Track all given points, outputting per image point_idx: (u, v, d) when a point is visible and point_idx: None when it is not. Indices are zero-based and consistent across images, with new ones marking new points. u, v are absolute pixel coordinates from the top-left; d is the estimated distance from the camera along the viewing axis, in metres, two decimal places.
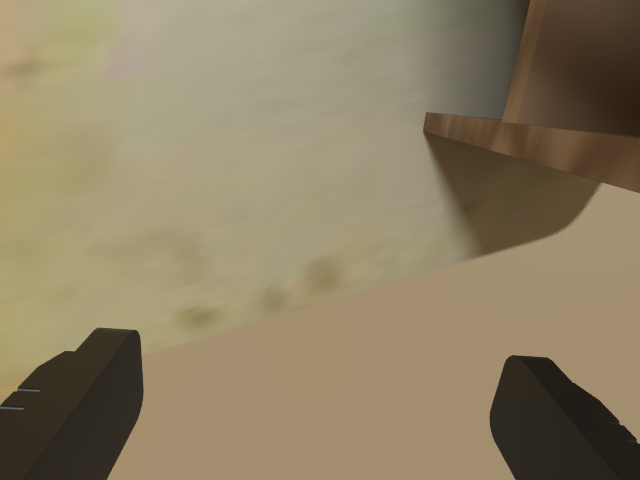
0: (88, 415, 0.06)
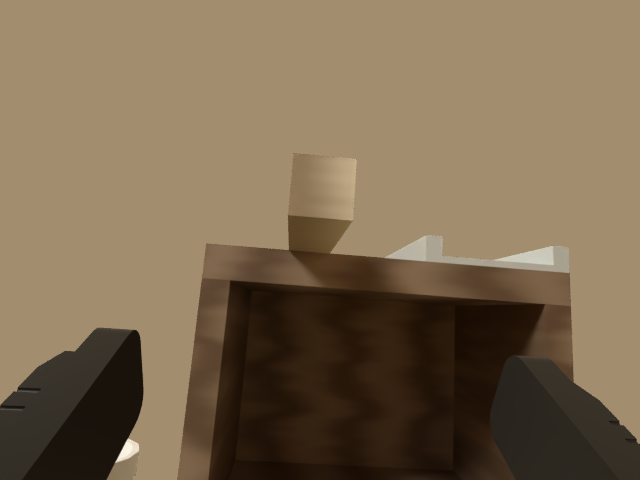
0: (88, 416, 0.06)
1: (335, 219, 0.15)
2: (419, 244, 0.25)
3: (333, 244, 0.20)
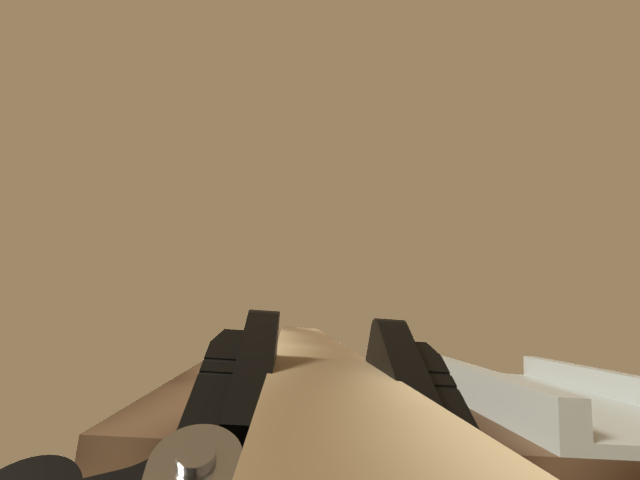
0: None
1: None
2: (531, 401, 0.13)
3: None
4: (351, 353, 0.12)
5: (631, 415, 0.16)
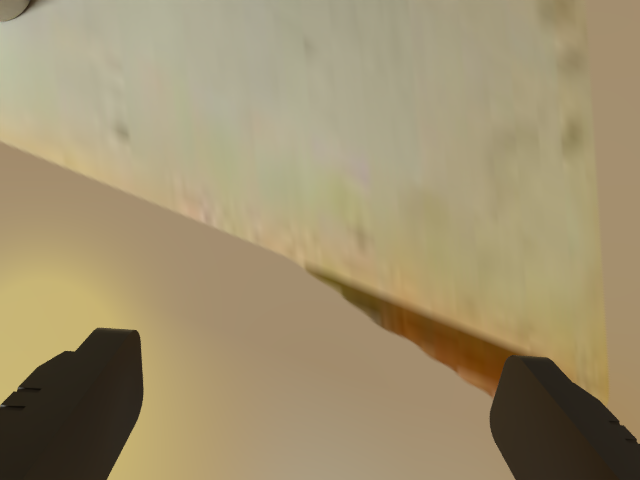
0: (88, 415, 0.06)
1: None
2: None
3: None
4: None
5: None
